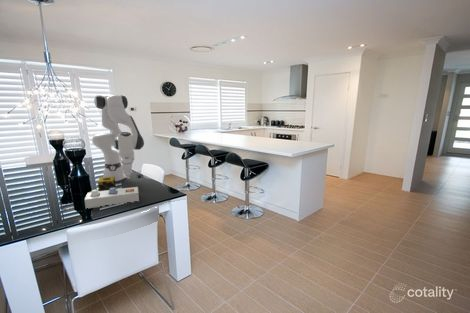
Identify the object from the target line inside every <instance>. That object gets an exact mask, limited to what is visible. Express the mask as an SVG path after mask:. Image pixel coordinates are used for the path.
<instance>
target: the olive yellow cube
mask: <svg viewBox="0 0 470 313" xmlns="http://www.w3.org/2000/svg"><path fill="white" fill-rule="evenodd" d="M97 186H98V188H97V190H99V191H106V190H109V189H110V188H116V189H117V184H116V181H115V176H113V177H104V176H102V177H100V176H99V179H98V180H97Z"/></svg>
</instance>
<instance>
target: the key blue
mask: <svg viewBox="0 0 470 313" xmlns="http://www.w3.org/2000/svg"><path fill="white" fill-rule="evenodd" d="M116 189H117V187H116V188H110V189H109V192H110V194H117V192H116Z"/></svg>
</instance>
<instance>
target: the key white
mask: <svg viewBox="0 0 470 313" xmlns="http://www.w3.org/2000/svg"><path fill="white" fill-rule="evenodd" d="M90 192H91V194H92V197H93V196H99V190H98V189H92V190H91V191H90Z"/></svg>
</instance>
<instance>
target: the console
mask: <svg viewBox="0 0 470 313" xmlns="http://www.w3.org/2000/svg"><path fill="white" fill-rule="evenodd" d="M127 189H133V192H127ZM116 192H117V194H110V192H109V190H106V191H99V196H93V197H92V194H91V191H89V192H87V194H86V195H85V197H84V206H85V209H87V208H88V209H92V208H93V209H94V208H100V206H102V207H106V206H105V205H109V206H113V205H112V204H116V205H120V204H119V203H123V204H128V203H127V202H131V203H135V202H134V201H138V202H140V195H139V187H138V186H133V187H123V188H116ZM88 209H87V210H88Z"/></svg>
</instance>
